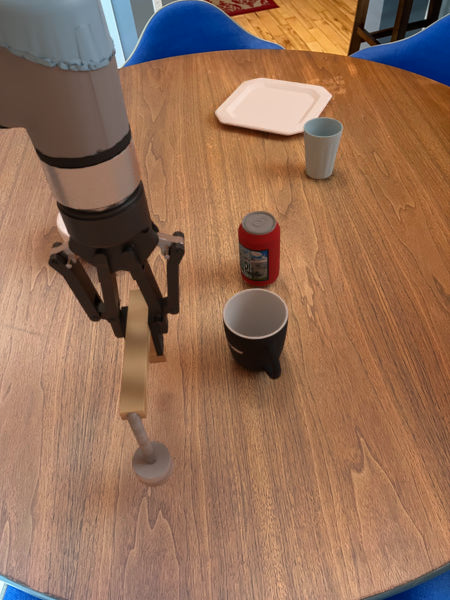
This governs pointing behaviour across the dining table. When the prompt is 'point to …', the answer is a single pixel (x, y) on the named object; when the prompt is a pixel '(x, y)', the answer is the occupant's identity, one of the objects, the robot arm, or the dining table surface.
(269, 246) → the beverage can
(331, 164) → the cup
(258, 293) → the mug
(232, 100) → the plate
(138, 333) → the ladle
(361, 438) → the dining table surface
